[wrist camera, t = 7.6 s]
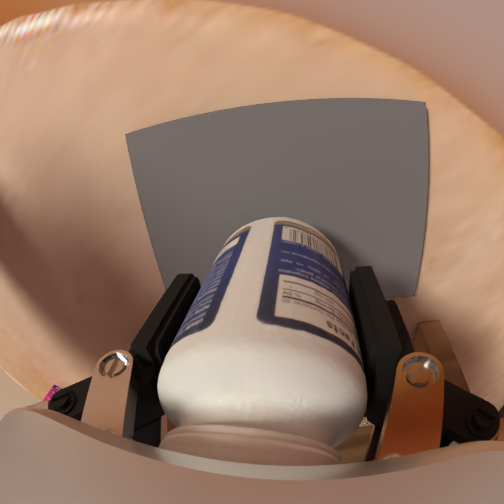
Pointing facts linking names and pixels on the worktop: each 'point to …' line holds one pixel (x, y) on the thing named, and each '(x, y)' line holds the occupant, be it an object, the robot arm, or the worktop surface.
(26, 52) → the worktop surface
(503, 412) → the can
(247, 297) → the pill bottle
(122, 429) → the robot arm
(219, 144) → the mat
